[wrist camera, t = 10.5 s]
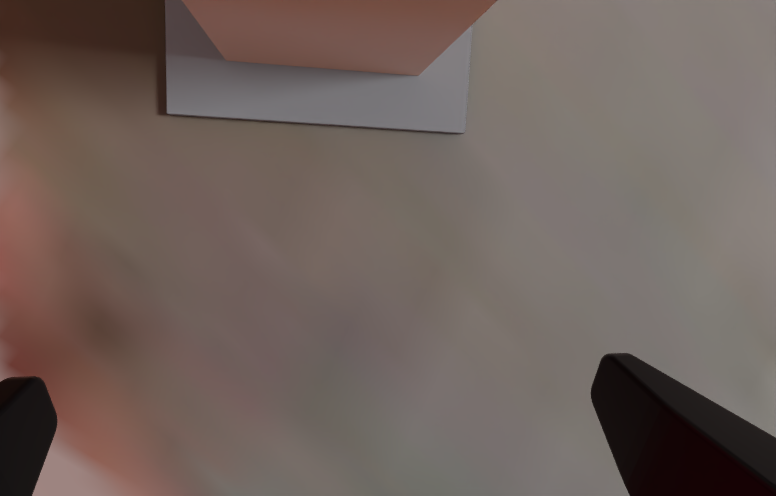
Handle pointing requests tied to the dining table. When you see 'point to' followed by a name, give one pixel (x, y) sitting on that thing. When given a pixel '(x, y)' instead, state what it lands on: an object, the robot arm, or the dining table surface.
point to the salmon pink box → (337, 31)
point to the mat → (310, 86)
